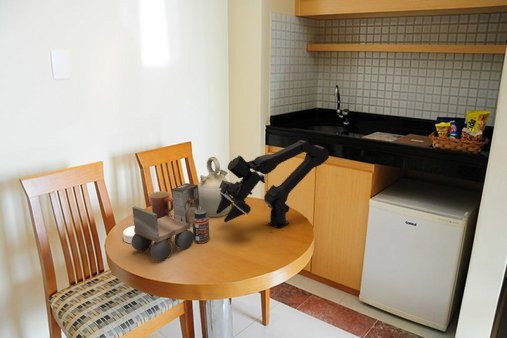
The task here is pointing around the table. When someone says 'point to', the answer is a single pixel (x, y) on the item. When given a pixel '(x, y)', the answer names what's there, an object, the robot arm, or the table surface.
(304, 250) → the table surface
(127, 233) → the coaster
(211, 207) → the jug
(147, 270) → the table surface
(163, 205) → the mug
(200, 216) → the supplement bottle
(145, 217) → the trolley
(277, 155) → the robot arm
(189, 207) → the coffee box
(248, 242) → the table surface
